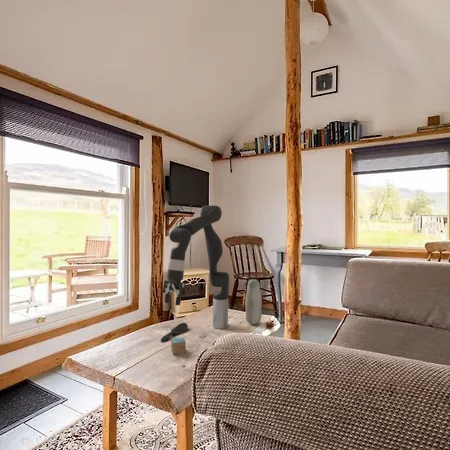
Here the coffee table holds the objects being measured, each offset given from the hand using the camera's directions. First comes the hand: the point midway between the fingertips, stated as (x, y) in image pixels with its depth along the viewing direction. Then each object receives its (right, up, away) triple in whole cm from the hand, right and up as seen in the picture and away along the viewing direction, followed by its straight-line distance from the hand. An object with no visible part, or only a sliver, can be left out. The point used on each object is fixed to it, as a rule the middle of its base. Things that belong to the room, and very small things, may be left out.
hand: (172, 304), depth 150 cm
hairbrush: (-4, -25, +30) cm, 39 cm away
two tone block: (+2, -25, +6) cm, 26 cm away
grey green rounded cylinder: (+43, -25, +49) cm, 70 cm away
